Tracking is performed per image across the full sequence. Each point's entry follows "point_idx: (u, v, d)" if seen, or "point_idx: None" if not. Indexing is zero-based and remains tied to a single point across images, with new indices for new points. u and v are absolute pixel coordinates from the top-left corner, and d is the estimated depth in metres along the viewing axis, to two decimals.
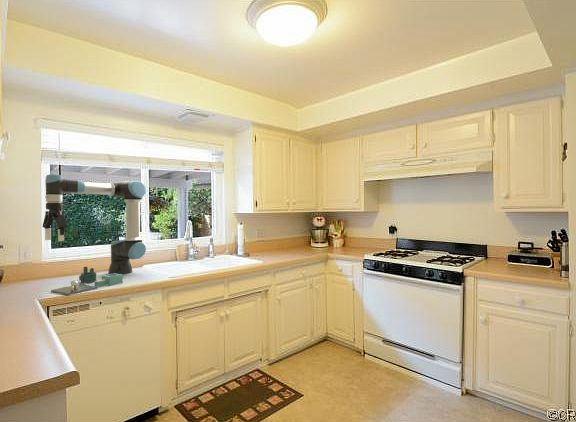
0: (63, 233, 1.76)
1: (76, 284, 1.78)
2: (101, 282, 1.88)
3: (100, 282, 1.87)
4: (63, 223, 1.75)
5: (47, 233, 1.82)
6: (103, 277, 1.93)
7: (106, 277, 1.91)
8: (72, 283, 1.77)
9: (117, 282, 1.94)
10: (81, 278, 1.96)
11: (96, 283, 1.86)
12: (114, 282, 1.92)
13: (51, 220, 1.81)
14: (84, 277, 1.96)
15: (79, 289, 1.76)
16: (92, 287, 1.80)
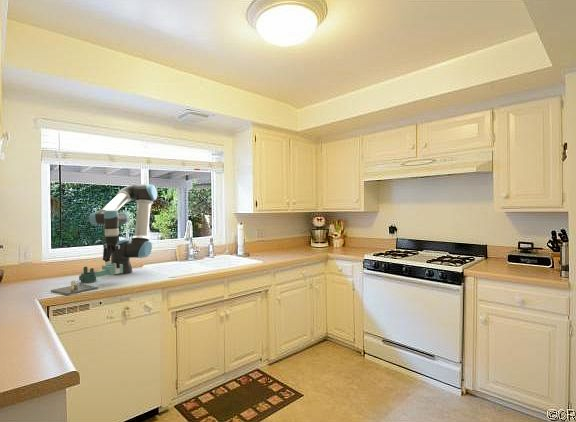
0: (119, 266, 1.93)
1: (76, 284, 1.78)
2: (101, 272, 1.88)
3: (100, 272, 1.88)
4: (120, 258, 1.92)
5: None
6: (103, 267, 1.93)
7: (106, 267, 1.92)
8: (72, 283, 1.77)
9: None
10: (81, 278, 1.96)
11: (97, 273, 1.87)
12: (114, 272, 1.93)
13: (110, 252, 1.97)
14: (84, 277, 1.96)
15: (79, 289, 1.76)
16: (92, 287, 1.80)
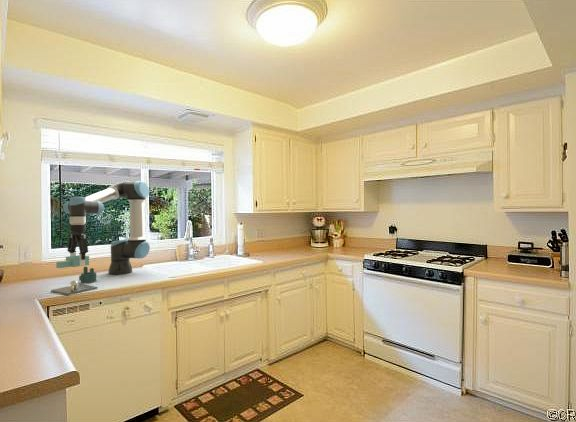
0: (84, 258, 1.77)
1: (76, 284, 1.78)
2: (64, 263, 1.72)
3: (63, 263, 1.72)
4: (85, 248, 1.76)
5: None
6: (67, 258, 1.77)
7: (70, 258, 1.76)
8: (72, 283, 1.77)
9: None
10: (81, 278, 1.96)
11: (58, 264, 1.71)
12: None
13: (75, 243, 1.81)
14: (84, 277, 1.96)
15: (79, 289, 1.76)
16: (92, 287, 1.80)
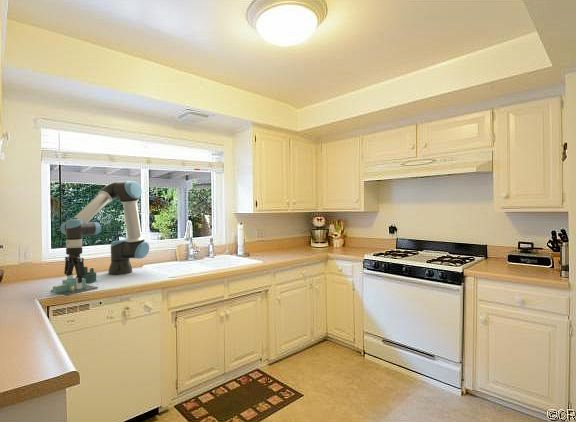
0: (81, 281, 1.76)
1: None
2: (60, 287, 1.71)
3: (59, 287, 1.71)
4: (82, 271, 1.75)
5: None
6: (64, 282, 1.76)
7: (67, 282, 1.75)
8: None
9: None
10: None
11: (54, 288, 1.69)
12: None
13: (72, 265, 1.80)
14: (84, 277, 1.96)
15: (79, 289, 1.76)
16: (92, 287, 1.80)
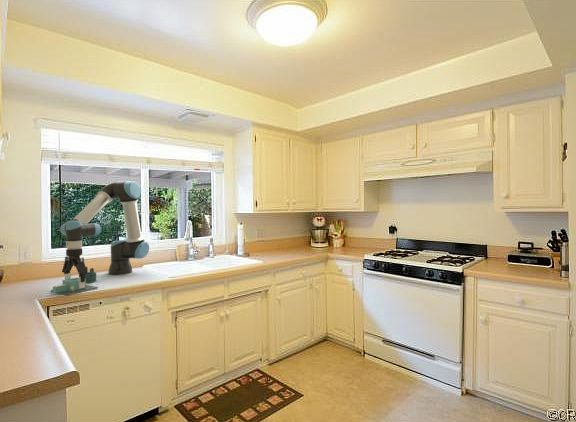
0: (84, 280, 1.75)
1: None
2: (60, 287, 1.71)
3: (59, 287, 1.71)
4: (84, 270, 1.74)
5: (66, 278, 1.81)
6: (64, 282, 1.76)
7: (67, 282, 1.75)
8: None
9: None
10: None
11: (54, 288, 1.69)
12: (76, 287, 1.76)
13: (71, 266, 1.81)
14: None
15: (79, 289, 1.76)
16: (92, 287, 1.80)
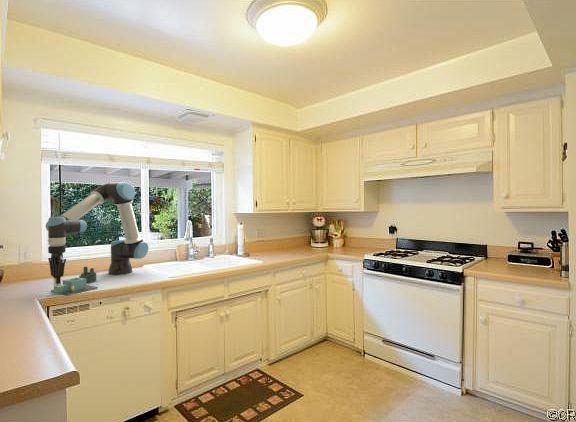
0: (59, 282, 1.72)
1: None
2: (62, 287, 1.71)
3: (61, 287, 1.70)
4: (61, 272, 1.70)
5: None
6: (64, 282, 1.76)
7: (68, 282, 1.74)
8: None
9: (80, 287, 1.77)
10: None
11: (56, 289, 1.69)
12: (77, 287, 1.76)
13: None
14: (84, 277, 1.96)
15: (79, 289, 1.76)
16: (92, 287, 1.80)
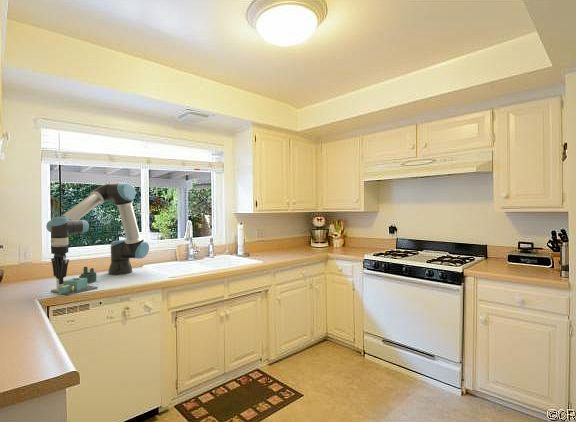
0: (62, 282, 1.70)
1: None
2: (67, 287, 1.71)
3: (66, 288, 1.70)
4: (64, 273, 1.69)
5: None
6: (66, 282, 1.74)
7: (71, 282, 1.74)
8: None
9: (83, 287, 1.79)
10: None
11: (62, 289, 1.68)
12: (80, 287, 1.77)
13: None
14: (84, 277, 1.96)
15: None
16: (92, 287, 1.80)
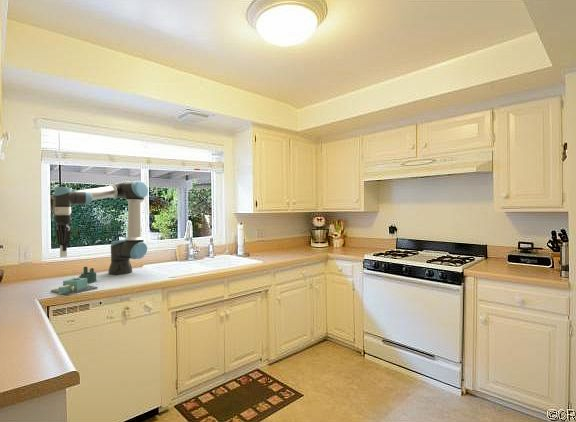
0: (65, 249, 1.80)
1: None
2: (67, 287, 1.71)
3: (66, 288, 1.70)
4: (67, 240, 1.78)
5: None
6: (66, 282, 1.74)
7: (71, 282, 1.74)
8: None
9: (83, 287, 1.79)
10: None
11: (62, 289, 1.68)
12: (80, 287, 1.77)
13: None
14: (84, 277, 1.96)
15: None
16: (92, 287, 1.80)
